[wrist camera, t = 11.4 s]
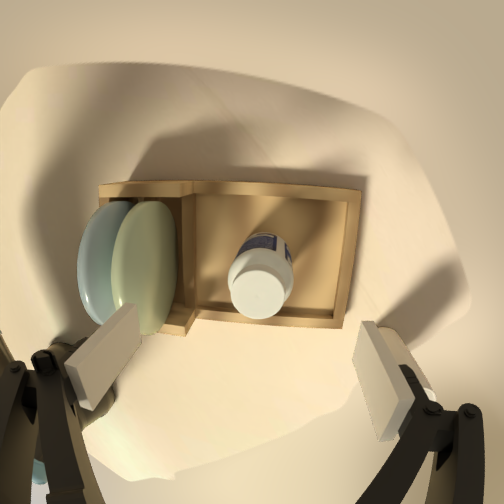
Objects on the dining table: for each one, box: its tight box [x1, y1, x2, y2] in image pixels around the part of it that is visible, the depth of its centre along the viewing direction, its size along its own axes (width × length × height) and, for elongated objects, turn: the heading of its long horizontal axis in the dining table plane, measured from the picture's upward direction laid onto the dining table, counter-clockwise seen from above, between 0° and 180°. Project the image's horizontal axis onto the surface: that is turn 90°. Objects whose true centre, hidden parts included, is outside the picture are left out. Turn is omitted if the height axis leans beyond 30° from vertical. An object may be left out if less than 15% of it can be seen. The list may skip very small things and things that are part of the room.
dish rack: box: [99, 180, 362, 337], centre depth 29 cm, size 25×15×6 cm, turn 88°
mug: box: [378, 327, 436, 434], centre depth 28 cm, size 10×7×12 cm, turn 1°
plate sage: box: [111, 201, 179, 335], centre depth 25 cm, size 1×12×12 cm, turn 178°
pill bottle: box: [228, 232, 294, 319], centre depth 26 cm, size 5×5×10 cm
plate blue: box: [77, 201, 135, 326], centre depth 26 cm, size 1×12×12 cm, turn 177°
